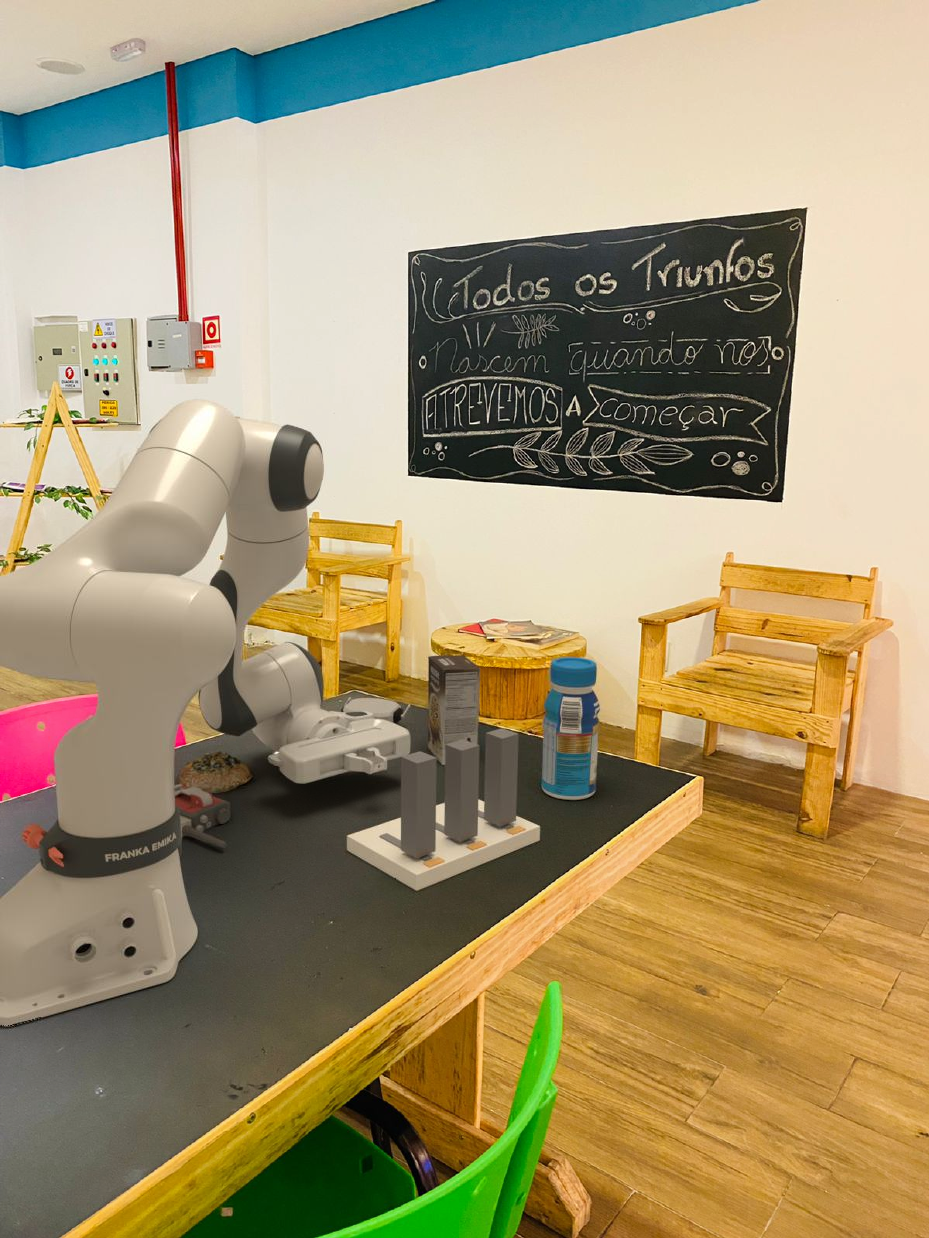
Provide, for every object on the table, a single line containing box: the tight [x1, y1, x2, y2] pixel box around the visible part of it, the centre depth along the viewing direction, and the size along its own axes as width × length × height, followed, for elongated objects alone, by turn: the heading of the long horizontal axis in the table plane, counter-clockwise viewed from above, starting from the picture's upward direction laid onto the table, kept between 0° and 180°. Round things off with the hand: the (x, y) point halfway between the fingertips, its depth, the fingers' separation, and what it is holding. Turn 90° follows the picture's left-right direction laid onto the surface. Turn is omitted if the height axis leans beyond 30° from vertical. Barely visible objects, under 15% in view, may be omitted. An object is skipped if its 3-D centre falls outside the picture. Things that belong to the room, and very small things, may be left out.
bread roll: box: [177, 750, 253, 794], centre depth 140 cm, size 11×11×5 cm
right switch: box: [483, 727, 520, 827], centre depth 120 cm, size 3×3×12 cm
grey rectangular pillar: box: [444, 739, 481, 842], centre depth 116 cm, size 3×3×12 cm
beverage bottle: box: [541, 656, 601, 801], centre depth 137 cm, size 8×8×20 cm
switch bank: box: [346, 798, 541, 891], centre depth 119 cm, size 21×14×2 cm, turn 132°
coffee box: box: [427, 654, 481, 766], centre depth 152 cm, size 9×6×16 cm
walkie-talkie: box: [174, 782, 231, 849], centre depth 124 cm, size 9×4×20 cm
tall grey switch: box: [400, 751, 438, 859], centre depth 111 cm, size 3×3×12 cm
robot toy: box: [340, 696, 411, 725], centre depth 164 cm, size 12×4×15 cm
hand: (379, 766), depth 128 cm, fingers closed
